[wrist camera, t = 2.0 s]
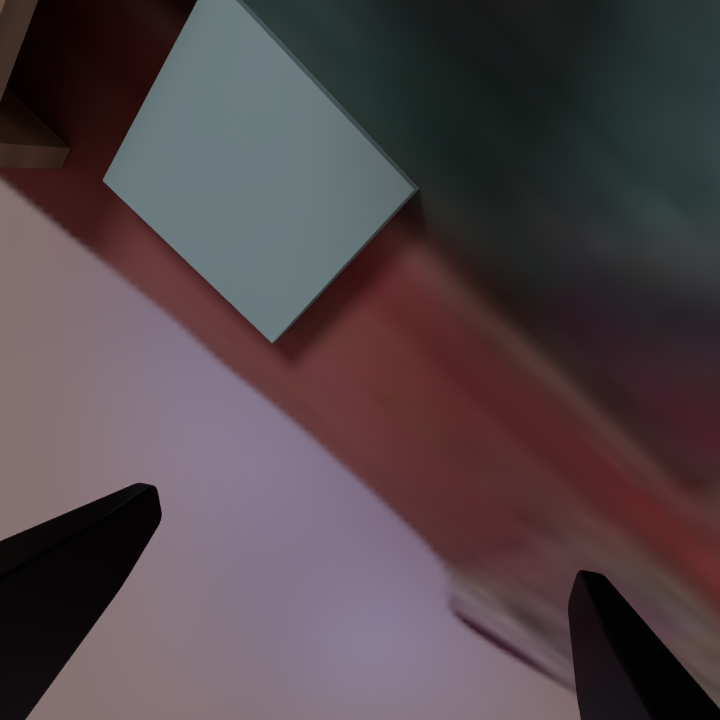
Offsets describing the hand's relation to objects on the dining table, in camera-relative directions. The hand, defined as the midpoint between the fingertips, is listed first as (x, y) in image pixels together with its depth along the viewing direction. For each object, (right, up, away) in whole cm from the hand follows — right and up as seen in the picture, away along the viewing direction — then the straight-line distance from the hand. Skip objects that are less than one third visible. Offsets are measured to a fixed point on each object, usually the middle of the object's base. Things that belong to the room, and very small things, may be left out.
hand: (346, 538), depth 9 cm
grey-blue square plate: (-4, +12, +10) cm, 16 cm away
